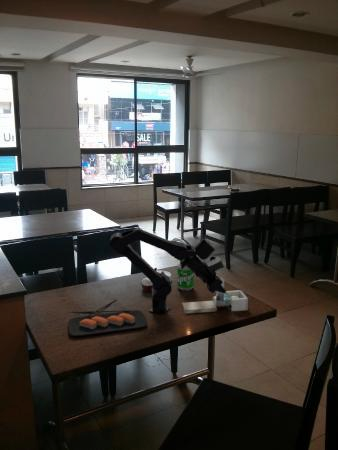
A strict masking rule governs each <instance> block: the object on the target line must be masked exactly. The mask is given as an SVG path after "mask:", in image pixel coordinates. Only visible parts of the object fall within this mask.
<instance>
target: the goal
mask: <svg viewBox="0 0 338 450" xmlns="http://www.w3.org/2000/svg"><path fill="white" fill-rule="evenodd" d="M225 294H226V295H227V296H228V298H229V299H230V297H232V296H237V297H238V298H237V299H232V306H231V308H230V309H231V312H240V311H248V308H249V306H248V305H249V298H248V297H247V296H246V294H245V293H244V292H243V291H242V290H239V289H237V290H226V292H225Z"/></svg>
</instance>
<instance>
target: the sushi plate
mask: <svg viewBox="0 0 338 450" xmlns="http://www.w3.org/2000/svg"><path fill="white" fill-rule="evenodd" d="M116 301H118V299H114V300H113V301H110V302H109V303H108V304H106V305H103V306H101V307H100V308H99V309H97V310H90V311H87V310H85V311H84V310H83V311H70V313H73V314H88V315H85V316H84V315H83V316H77V317H72V318H70V319H69V320H68V322H67V323H68V324H67V326H68V327H67V328H68V333H69V335H70V336H72V337H81V336H82V337H83V336H89V335H96V334H98V335H99V334H105V333H106V334H107V333H113V332H120V331H129V330H136V329H141V328H144V327H147V325H148V321H147V318H146V316H145V314H144V313H143V311H141V310H137V309H136V310H135V309H134V310H127V309H126V310H103V309H105V308H107V307H109V306H110V305H112V304H113V303H115V302H116ZM95 313H96V314H95ZM97 313H99V314H97Z"/></svg>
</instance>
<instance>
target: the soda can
mask: <svg viewBox="0 0 338 450" xmlns="http://www.w3.org/2000/svg"><path fill="white" fill-rule="evenodd" d="M194 275H195V273H193V272H192V271H191V270H190V269H189V268H188V267H187V266H185V267H184V268H183V269H181V266H180V263H179V264H177V288H178V289H179V290H181V291H184V292H185V291H187V292H188V291H191V290H192V289H193V288H194V287H195V286H194V285H195V284H194V283H195V282H194V279H195V278H194V277H195V276H194Z"/></svg>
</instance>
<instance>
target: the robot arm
mask: <svg viewBox="0 0 338 450" xmlns="http://www.w3.org/2000/svg"><path fill="white" fill-rule="evenodd" d="M136 241H141V242H143V243H145V244H147V245H151V246H153V247H155V248H157V249H160V250H162V251H164V252H166V253H168V254H169V256H171V257H173V258H174V259H176V260H177V261H179V262H180V266H181V269H183V268H184V267H185V266H187V267H188V268H189V269H190V270H191V271H192V272H193V273H194V275H195V276H196V277H197V278H199V279H200V280H201V282H203V283H204V284H206V288H207V290H208V292H210V293H211V294H214V293H216V291H218V292H222V293H224V294H226V291H227V290H226V289H225V287H224V288H223V286H222V285H221V284H222V283H223V281H222V280H221V279H220V278H221V277H220V276H218V275H217V272H216V271H219V270H221V269H223V268H224V267H225V265H224V263H223V262H222V259H221V258H220V257H219V256H215V255H212V254H213V253H214V252H216V250H217V249H216V247H214V246H213V245H212V243H210V241H208V240H206V239H205V238H204V237H202V239H200V241H199V242H198V243H197V244H196V245H195V246H194V245H188V244H185V243H183V242H181V241H175V240H168V239H166V238H163V237H161V236H159V235H156V234H154V233H152V232H149V231H146V230H144V229H142V228H140V227H135V228H134V229H130V230H126V231H125V230H124V231H122V232H114V233H113V234H111V237H110V240H109V247H110V249H111V250H113V251H114V252H116V253H117V254H119V255H121V256H123V257H125V258H126V259H127V260H128V261H129V262H130V263H132V265H134V266H135V267H136V268H137V269H138V271H140V272H141V273H142V274H143V275H144V276H145V278H146V277H147V278H148V279H149V280H150V281H151V282H152V284H153V287H152V292H151V294H152V295H151V297H152V298H151V304H152V305H151V306H152V307H151V308H150V309H149V310H148V312H149V313H153V314H157V315H158V314H159V315H164V314H165V313H167V312H168V311H169V310H170V307H168V306H167V297H168V295H170V294H171V292H172V290H173V289H172V283H171V281H170V278H169V277H168V276H167V275H166V274H165V273H164V272H163V271H164V270H163V271H162V272H161V273H159V272H157V270H156V271H155V270H154V267H152V265H150V264H149V262H147V261H146V260H145V259H144V258H143V257H142V256H141V255H140V254H139V253H138V252H137V251H136V250H135V249H133V247H132V245H131V244H132V243H134V242H136ZM208 258H209V260H208V262H205V261H203V260H207V259H208Z"/></svg>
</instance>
